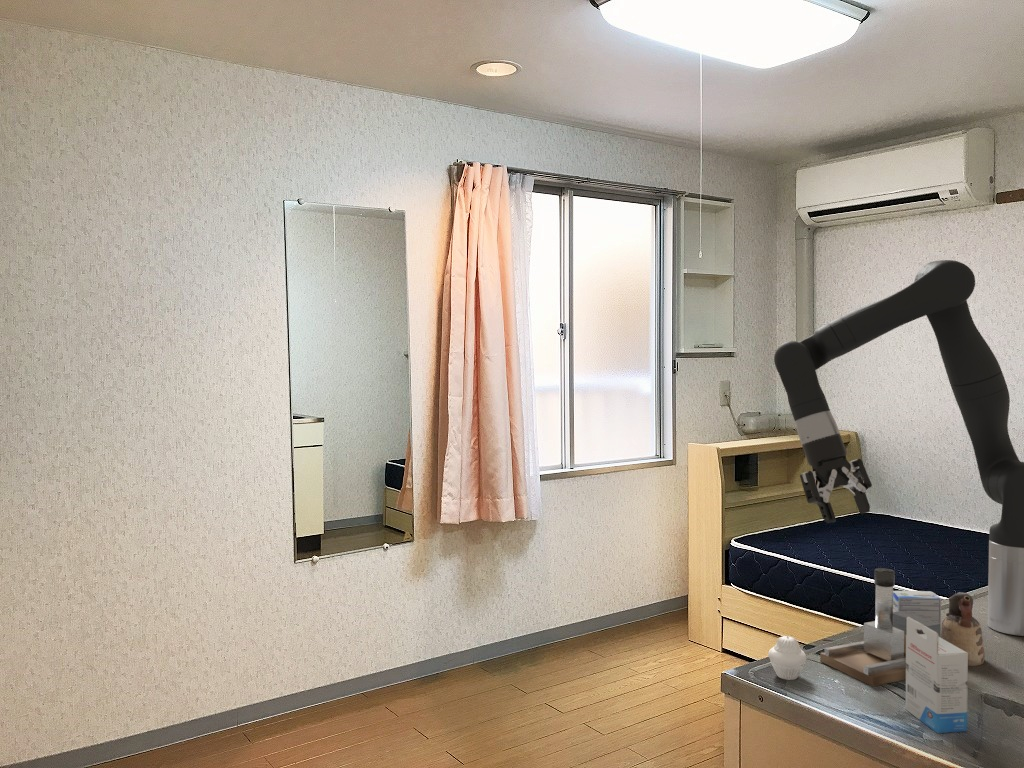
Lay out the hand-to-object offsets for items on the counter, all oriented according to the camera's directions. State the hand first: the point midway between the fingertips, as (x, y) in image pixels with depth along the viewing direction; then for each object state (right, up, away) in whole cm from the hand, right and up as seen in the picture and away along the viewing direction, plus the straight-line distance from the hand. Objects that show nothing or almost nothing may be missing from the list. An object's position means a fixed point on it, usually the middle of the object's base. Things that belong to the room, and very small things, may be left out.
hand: (848, 517), depth 161 cm
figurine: (+15, -24, -12) cm, 31 cm away
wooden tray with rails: (0, -24, -15) cm, 28 cm away
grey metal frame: (0, -22, -15) cm, 27 cm away
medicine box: (+12, -23, -2) cm, 26 cm away
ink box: (-2, -25, -36) cm, 44 cm away
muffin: (-18, -24, -19) cm, 36 cm away
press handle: (0, -22, -15) cm, 27 cm away
